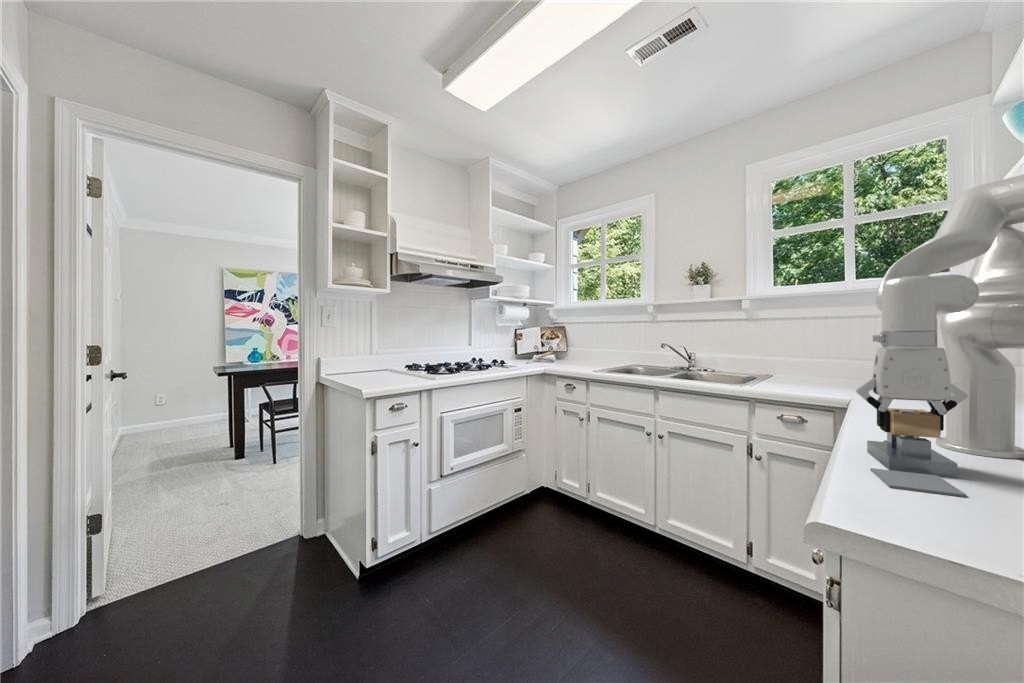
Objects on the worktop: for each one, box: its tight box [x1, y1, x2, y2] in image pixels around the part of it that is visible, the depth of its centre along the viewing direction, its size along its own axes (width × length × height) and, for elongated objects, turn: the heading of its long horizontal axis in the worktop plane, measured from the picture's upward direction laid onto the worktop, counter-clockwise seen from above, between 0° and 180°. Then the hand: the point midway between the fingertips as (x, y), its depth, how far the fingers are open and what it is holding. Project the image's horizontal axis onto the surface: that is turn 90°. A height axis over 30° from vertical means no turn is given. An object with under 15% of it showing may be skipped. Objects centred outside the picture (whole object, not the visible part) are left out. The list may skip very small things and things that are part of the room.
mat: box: [870, 467, 968, 498], centre depth 67 cm, size 9×9×1 cm
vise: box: [866, 410, 958, 478], centre depth 78 cm, size 17×9×10 cm, turn 152°
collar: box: [888, 407, 941, 439], centre depth 76 cm, size 6×6×4 cm
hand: (909, 431), depth 76 cm, fingers closed on collar, 6 cm apart
